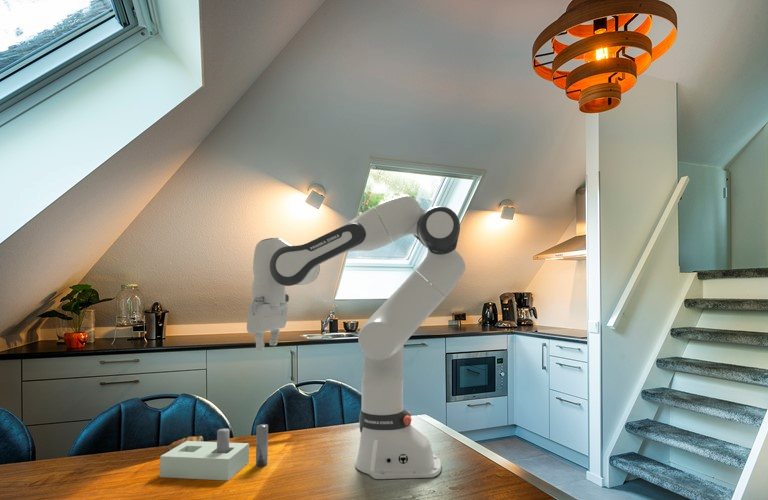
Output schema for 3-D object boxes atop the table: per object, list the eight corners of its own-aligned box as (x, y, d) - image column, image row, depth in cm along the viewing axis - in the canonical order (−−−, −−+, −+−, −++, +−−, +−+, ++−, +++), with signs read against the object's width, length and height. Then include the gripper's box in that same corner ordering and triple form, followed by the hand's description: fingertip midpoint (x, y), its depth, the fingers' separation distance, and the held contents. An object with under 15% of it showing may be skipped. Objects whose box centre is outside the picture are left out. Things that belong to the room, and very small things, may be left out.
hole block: (248, 462, 124) (249, 424, 125) (228, 480, 113) (229, 438, 113) (186, 459, 127) (187, 422, 128) (159, 477, 115) (161, 435, 116)
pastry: (165, 455, 130) (166, 441, 131) (170, 448, 137) (171, 434, 137) (201, 453, 133) (201, 439, 133) (204, 445, 139) (204, 432, 140)
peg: (269, 462, 124) (269, 424, 125) (264, 466, 121) (265, 427, 122) (258, 462, 125) (259, 424, 125) (253, 466, 122) (254, 427, 122)
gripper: (265, 297, 117) (263, 352, 116) (291, 296, 138) (290, 343, 136) (241, 297, 118) (239, 351, 117) (270, 296, 138) (269, 343, 137)
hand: (266, 347), depth 127 cm, fingers open, 8 cm apart
